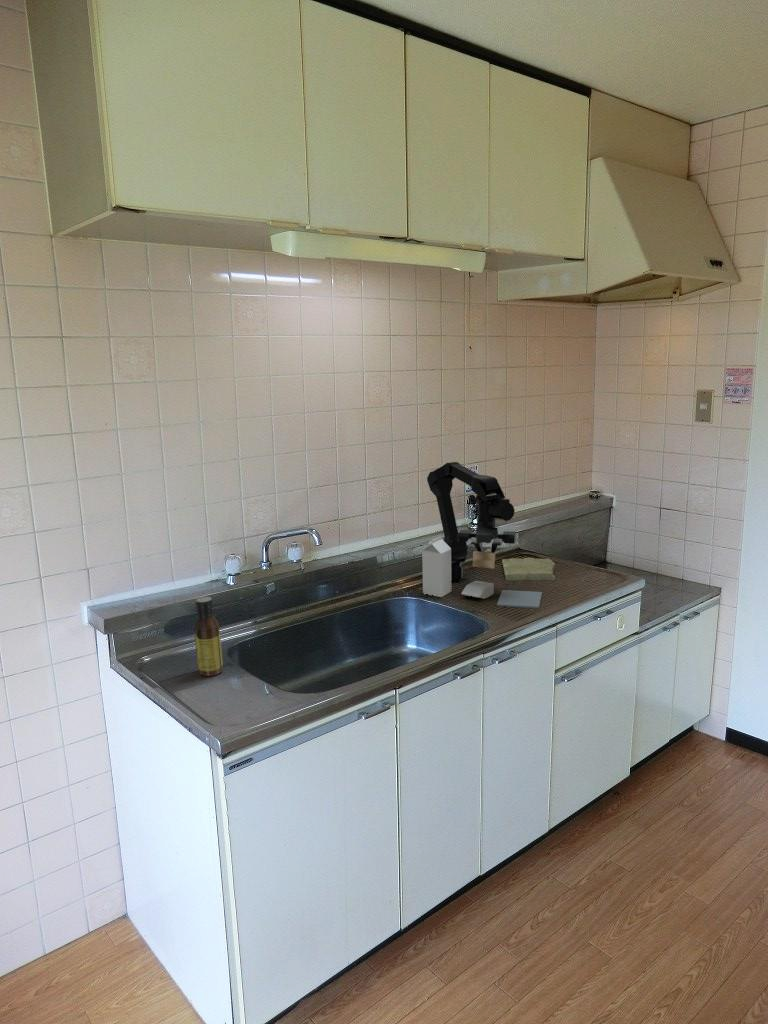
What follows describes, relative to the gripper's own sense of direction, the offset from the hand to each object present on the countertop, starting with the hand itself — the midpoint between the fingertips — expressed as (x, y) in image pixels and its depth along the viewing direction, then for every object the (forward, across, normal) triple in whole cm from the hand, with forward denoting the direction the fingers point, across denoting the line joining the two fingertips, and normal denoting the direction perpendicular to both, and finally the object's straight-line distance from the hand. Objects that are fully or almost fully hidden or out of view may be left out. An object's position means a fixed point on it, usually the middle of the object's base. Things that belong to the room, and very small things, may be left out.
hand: (486, 561), depth 242 cm
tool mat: (+11, +11, -5) cm, 17 cm away
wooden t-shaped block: (+1, 0, +2) cm, 2 cm away
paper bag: (+9, -1, +1) cm, 9 cm away
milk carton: (+11, -16, -3) cm, 20 cm away
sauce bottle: (+11, -60, -78) cm, 99 cm away
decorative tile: (+11, +12, +27) cm, 31 cm away
